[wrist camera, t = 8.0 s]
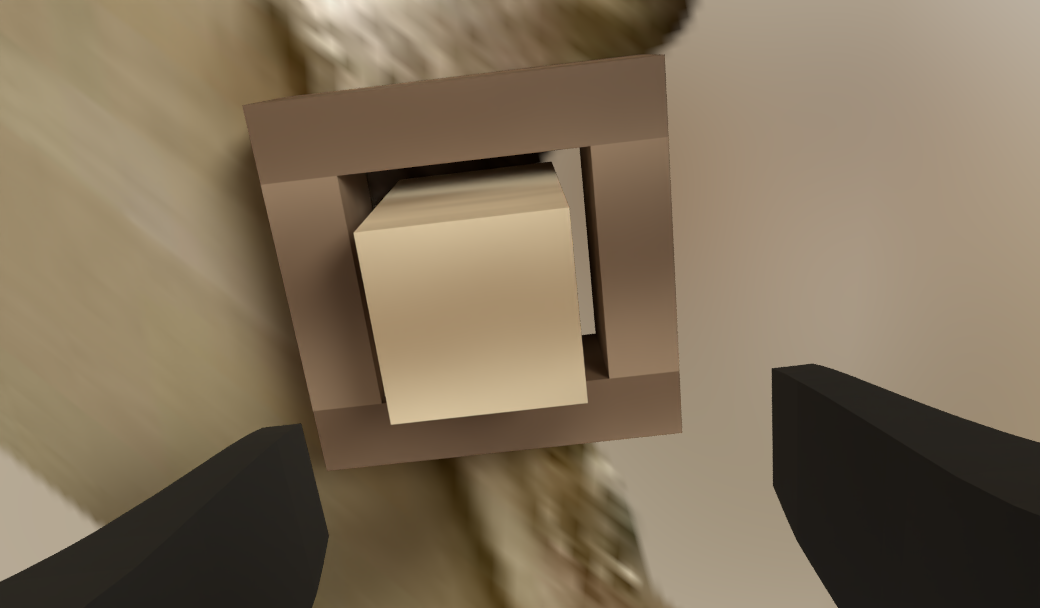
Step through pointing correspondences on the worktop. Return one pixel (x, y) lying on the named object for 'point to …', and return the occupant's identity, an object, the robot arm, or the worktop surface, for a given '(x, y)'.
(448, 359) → the oak block
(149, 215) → the worktop surface
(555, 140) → the brown square frame
